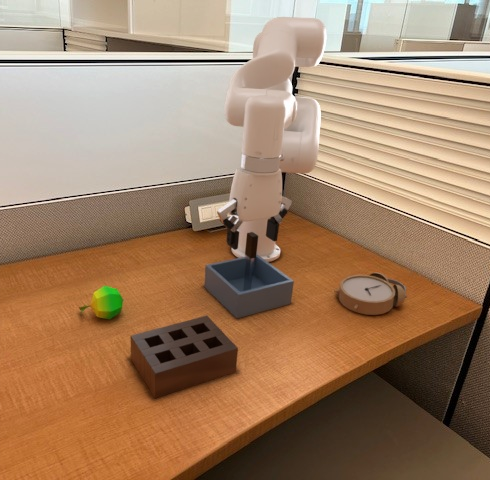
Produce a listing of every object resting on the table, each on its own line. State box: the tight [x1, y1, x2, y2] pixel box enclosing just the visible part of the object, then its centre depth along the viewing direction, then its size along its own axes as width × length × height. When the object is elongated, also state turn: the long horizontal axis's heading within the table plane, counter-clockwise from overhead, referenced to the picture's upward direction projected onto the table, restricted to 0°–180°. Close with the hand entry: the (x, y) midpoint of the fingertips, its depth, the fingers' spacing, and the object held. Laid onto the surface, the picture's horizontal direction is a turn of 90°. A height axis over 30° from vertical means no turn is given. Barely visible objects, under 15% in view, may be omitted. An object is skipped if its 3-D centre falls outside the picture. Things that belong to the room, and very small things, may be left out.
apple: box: [78, 285, 124, 320], centre depth 94 cm, size 7×6×9 cm
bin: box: [203, 254, 295, 319], centre depth 103 cm, size 14×14×6 cm
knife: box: [243, 232, 258, 291], centre depth 101 cm, size 2×1×14 cm, turn 27°
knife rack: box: [130, 315, 239, 399], centre depth 82 cm, size 11×15×5 cm
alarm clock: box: [333, 271, 408, 316], centre depth 104 cm, size 11×5×15 cm
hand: (252, 242), depth 99 cm, fingers open, 9 cm apart
